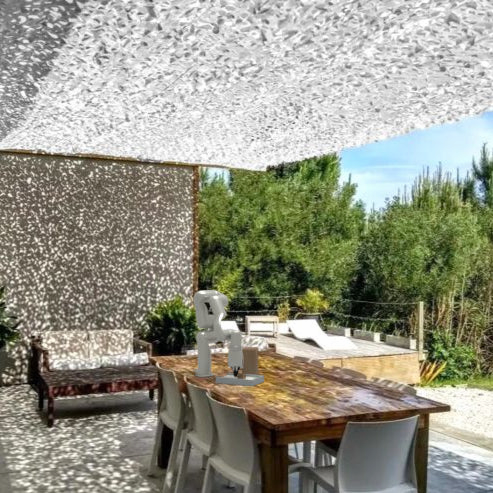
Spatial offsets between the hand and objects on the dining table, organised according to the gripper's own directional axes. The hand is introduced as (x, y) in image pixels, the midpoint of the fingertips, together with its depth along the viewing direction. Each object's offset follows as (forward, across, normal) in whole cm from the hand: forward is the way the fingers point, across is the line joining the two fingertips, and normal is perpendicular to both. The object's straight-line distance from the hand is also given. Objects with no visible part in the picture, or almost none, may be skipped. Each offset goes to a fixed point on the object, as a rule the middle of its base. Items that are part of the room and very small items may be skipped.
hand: (235, 376), depth 422 cm
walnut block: (+1, +4, 0) cm, 4 cm away
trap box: (+4, +3, 0) cm, 5 cm away
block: (+4, -1, +23) cm, 23 cm away
